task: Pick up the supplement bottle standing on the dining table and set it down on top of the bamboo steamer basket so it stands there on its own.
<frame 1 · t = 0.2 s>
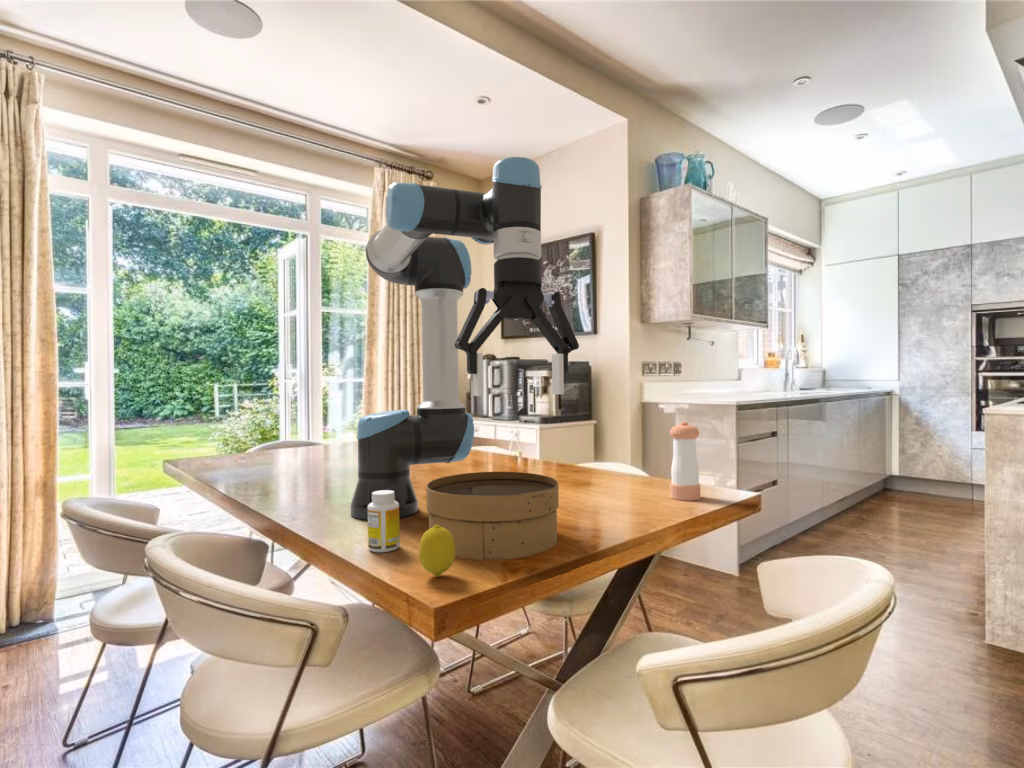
hand: (519, 395, 86), 28 cm above the table, tool pointing down, fingers open, 13 cm apart
pepper shaker: (685, 498, 137), on the table
steamer basket: (493, 541, 103), on the table
supplement bottle: (384, 549, 98), on the table
lemon: (437, 578, 83), on the table
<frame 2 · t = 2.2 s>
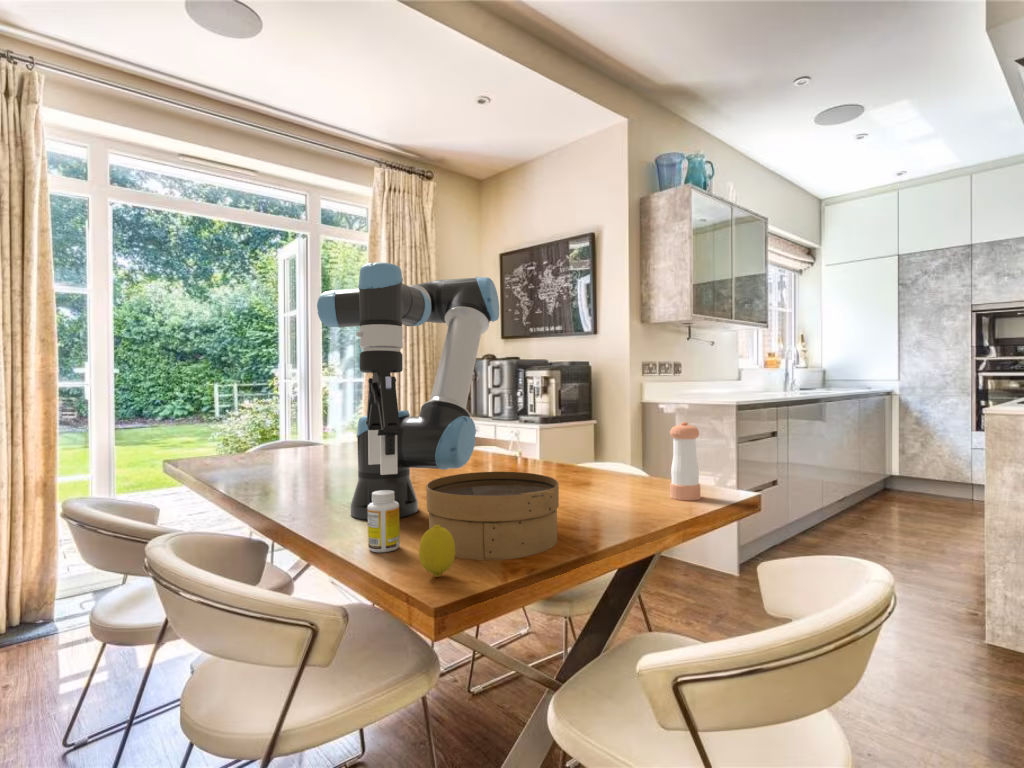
hand: (382, 469, 97), 14 cm above the table, tool pointing down, fingers open, 13 cm apart
nothing on the table moved.
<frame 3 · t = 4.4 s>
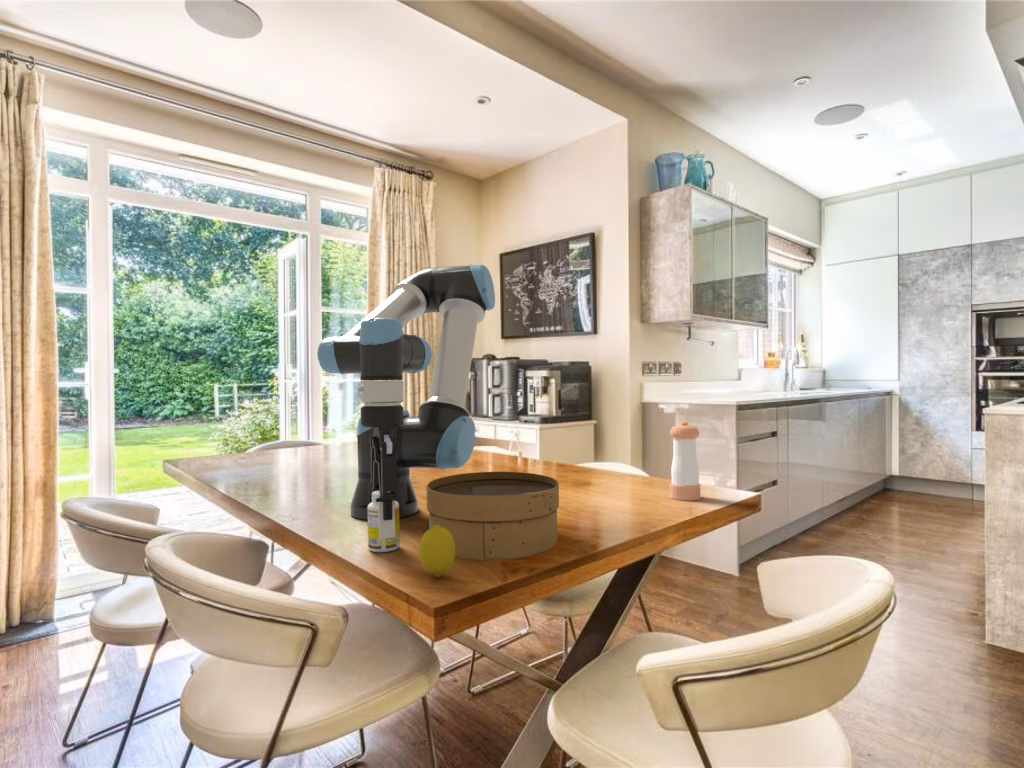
hand: (383, 532, 98), 3 cm above the table, tool pointing down, fingers closed on supplement bottle, 6 cm apart
supplement bottle: (384, 549, 98), on the table, touching gripper
everything else where it was.
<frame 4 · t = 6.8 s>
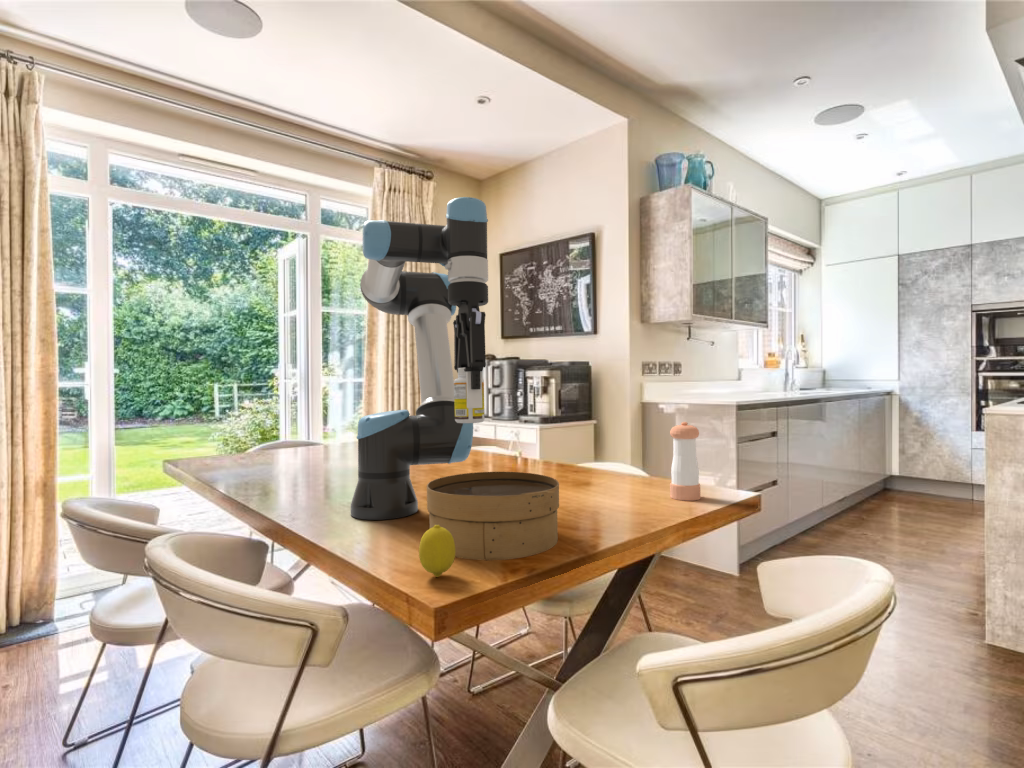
hand: (469, 407, 101), 25 cm above the table, tool pointing down, fingers closed on supplement bottle, 5 cm apart
supplement bottle: (469, 423, 101), point 22 cm above the table, touching gripper
everything else where it was.
when the fingers open (15 cm above the table, at t = 9.6 s): supplement bottle drops 2 cm, resting on steamer basket.
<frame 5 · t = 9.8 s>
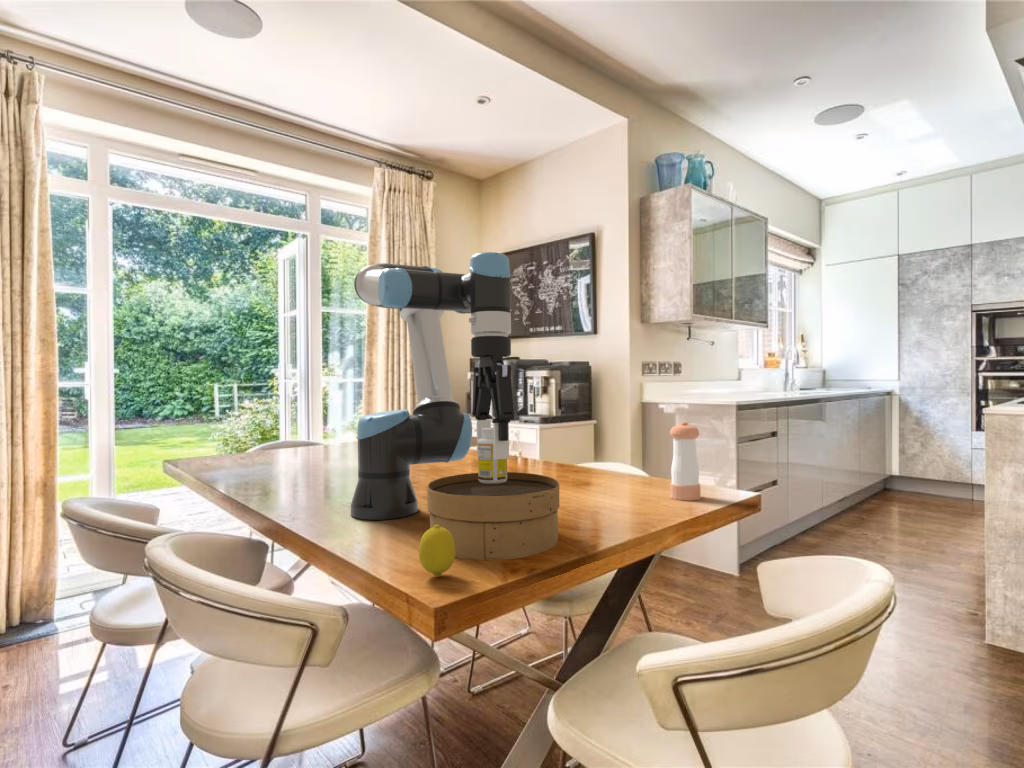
hand: (492, 455, 103), 16 cm above the table, tool pointing down, fingers open, 8 cm apart
steamer basket: (494, 541, 103), on the table, touching supplement bottle
supplement bottle: (492, 483, 103), point 11 cm above the table, touching steamer basket
everything else where it was.
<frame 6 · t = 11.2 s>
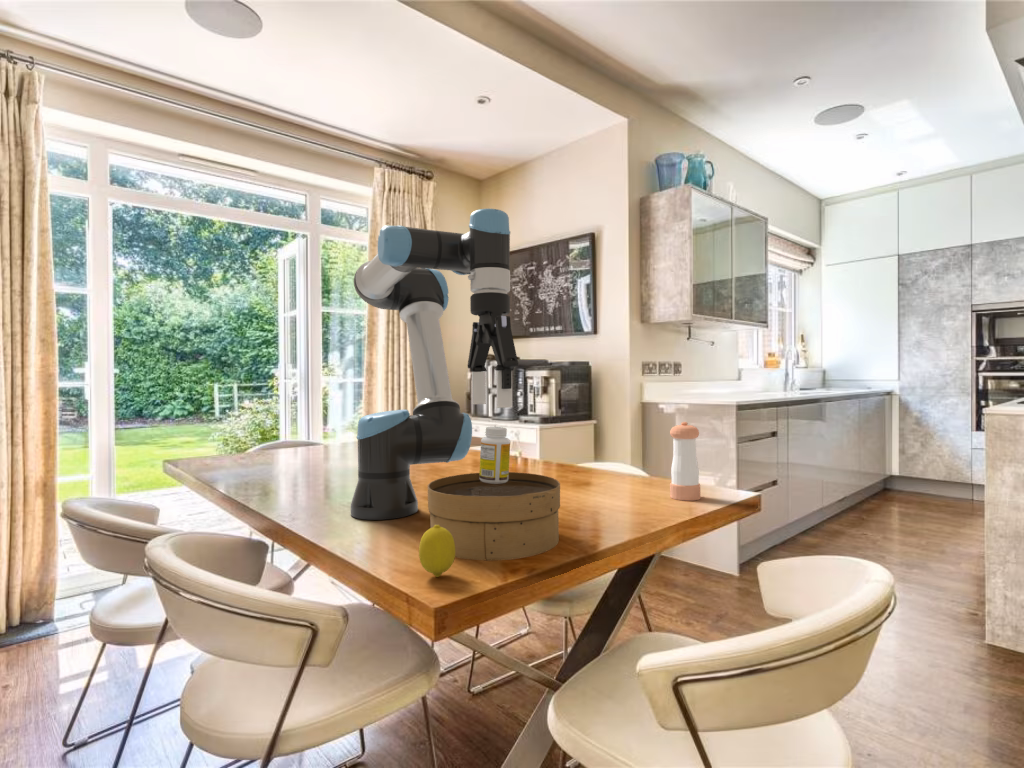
hand: (491, 405, 103), 25 cm above the table, tool pointing down, fingers open, 13 cm apart
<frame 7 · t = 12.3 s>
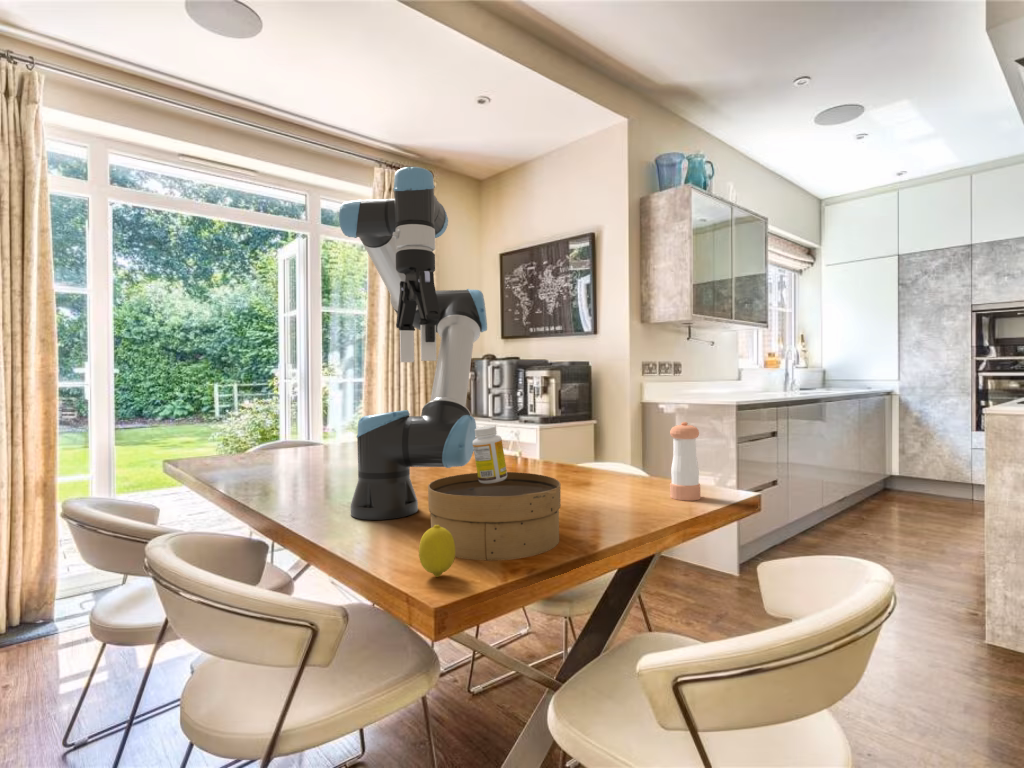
hand: (417, 361, 105), 34 cm above the table, tool pointing down, fingers open, 13 cm apart
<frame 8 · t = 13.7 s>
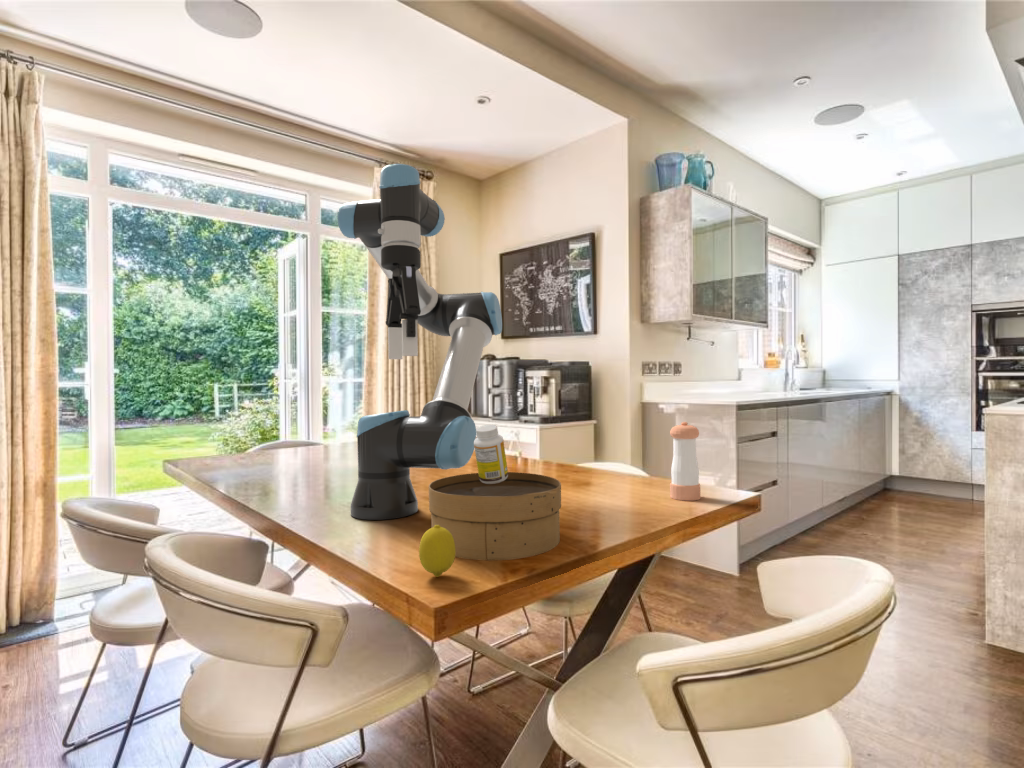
hand: (402, 357, 105), 35 cm above the table, tool pointing down, fingers open, 13 cm apart
at the end: supplement bottle inside the target area in the steamer basket (0.2 cm from its centre), point 11.6 cm above the steamer basket's base; supplement bottle tilted 12°; the gripper is holding nothing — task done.
